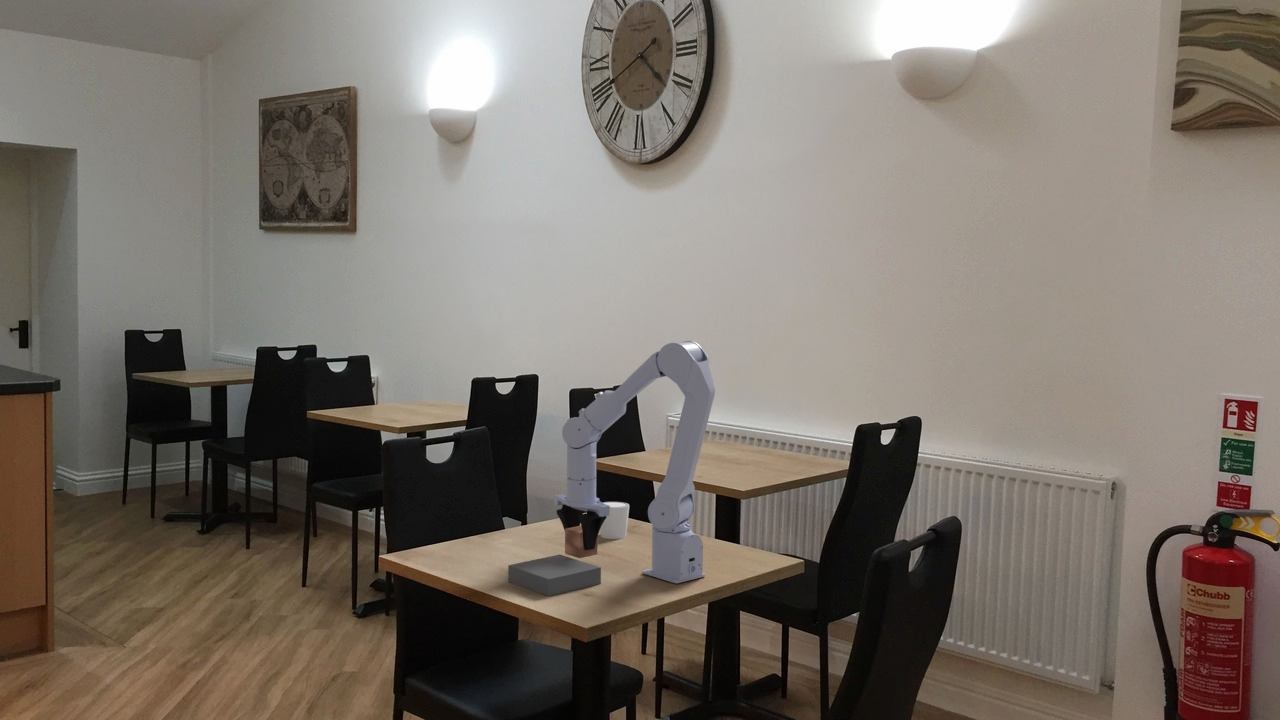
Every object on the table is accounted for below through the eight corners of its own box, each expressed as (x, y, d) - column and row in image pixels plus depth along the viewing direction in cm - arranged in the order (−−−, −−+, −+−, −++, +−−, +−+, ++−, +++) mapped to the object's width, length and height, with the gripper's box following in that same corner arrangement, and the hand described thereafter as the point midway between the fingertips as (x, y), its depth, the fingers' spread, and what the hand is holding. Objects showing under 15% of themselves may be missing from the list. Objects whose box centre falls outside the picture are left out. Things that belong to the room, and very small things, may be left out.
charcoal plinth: (600, 583, 189) (600, 567, 188) (548, 596, 180) (548, 579, 180) (559, 569, 197) (559, 554, 197) (508, 581, 189) (508, 565, 189)
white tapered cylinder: (630, 532, 228) (631, 501, 228) (627, 540, 221) (627, 508, 221) (599, 531, 229) (600, 500, 228) (595, 539, 222) (595, 507, 222)
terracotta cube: (597, 554, 202) (597, 529, 201) (579, 558, 199) (579, 532, 198) (582, 550, 205) (582, 525, 205) (564, 553, 202) (565, 528, 202)
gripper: (621, 480, 198) (621, 550, 199) (573, 470, 209) (573, 536, 210) (593, 485, 194) (593, 556, 194) (546, 474, 204) (546, 542, 205)
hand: (581, 546), depth 202 cm, fingers closed on terracotta cube, 4 cm apart
